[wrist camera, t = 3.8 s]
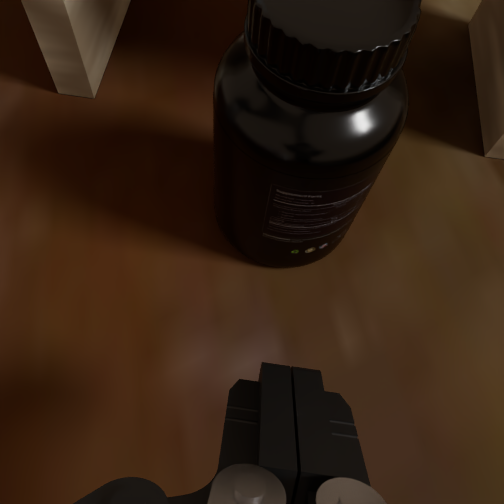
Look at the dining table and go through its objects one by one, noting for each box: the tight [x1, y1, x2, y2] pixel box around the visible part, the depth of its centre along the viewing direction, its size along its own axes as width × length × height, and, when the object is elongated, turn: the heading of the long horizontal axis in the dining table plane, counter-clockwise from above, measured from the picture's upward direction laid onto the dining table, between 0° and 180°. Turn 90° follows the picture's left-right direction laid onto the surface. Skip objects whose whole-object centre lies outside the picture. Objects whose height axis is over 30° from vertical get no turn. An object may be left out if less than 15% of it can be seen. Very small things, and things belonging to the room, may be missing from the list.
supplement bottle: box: [213, 0, 421, 268], centre depth 18 cm, size 7×7×12 cm
